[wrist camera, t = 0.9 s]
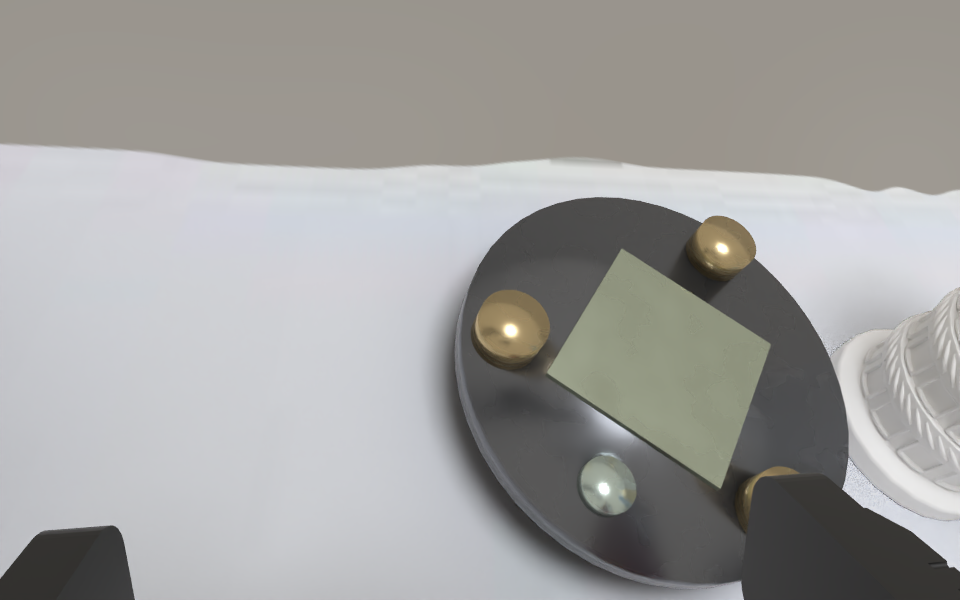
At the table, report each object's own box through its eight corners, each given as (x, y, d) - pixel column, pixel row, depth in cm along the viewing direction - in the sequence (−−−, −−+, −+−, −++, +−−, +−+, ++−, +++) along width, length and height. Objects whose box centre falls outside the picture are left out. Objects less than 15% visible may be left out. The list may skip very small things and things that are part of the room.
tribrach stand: (360, 435, 31) (377, 381, 26) (547, 191, 42) (585, 121, 37) (731, 693, 29) (827, 689, 24) (822, 367, 40) (900, 318, 35)
